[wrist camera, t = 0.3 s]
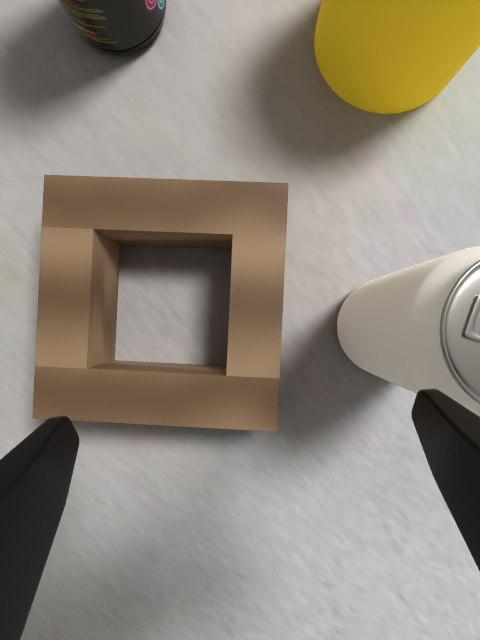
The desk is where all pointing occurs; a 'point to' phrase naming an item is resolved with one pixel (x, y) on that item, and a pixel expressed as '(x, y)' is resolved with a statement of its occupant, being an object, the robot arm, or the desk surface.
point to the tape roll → (394, 49)
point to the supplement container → (116, 23)
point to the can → (420, 327)
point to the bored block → (102, 292)
